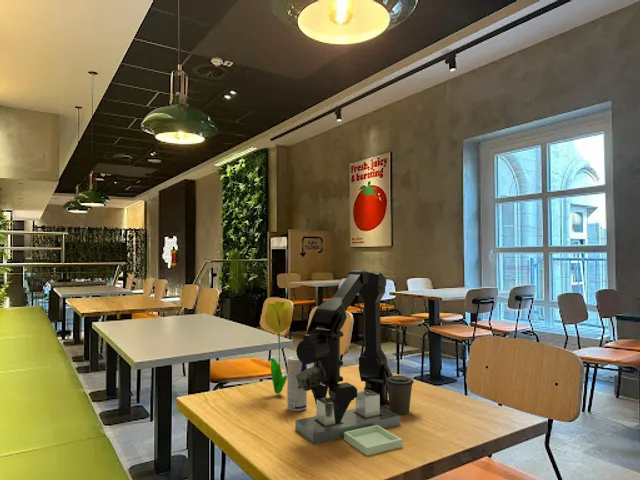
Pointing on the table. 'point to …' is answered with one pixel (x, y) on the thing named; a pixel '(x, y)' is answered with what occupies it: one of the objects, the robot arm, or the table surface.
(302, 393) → the beverage can
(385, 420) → the grey socket board
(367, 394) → the nut
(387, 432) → the tray
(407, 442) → the table surface
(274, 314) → the flower
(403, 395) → the coffee cup
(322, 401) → the nut
